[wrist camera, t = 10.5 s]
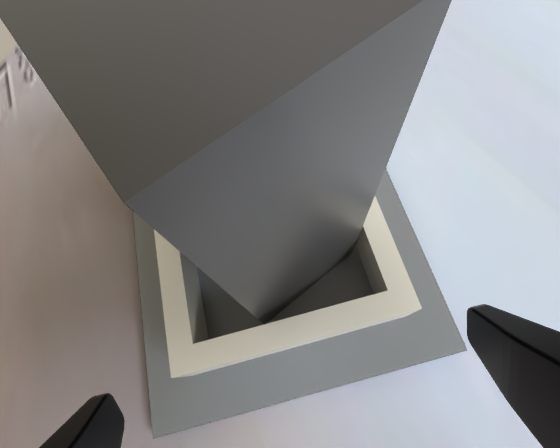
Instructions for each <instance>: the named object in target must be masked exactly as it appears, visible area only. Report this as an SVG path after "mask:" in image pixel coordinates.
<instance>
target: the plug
mask: <svg viewBox="0 0 560 448" xmlns="http://www.w3.org/2000/svg"><path fill="white" fill-rule="evenodd" d="M450 3H451V0H0V18H1V20H2V21H3V23H4V24H5V26H6V27H7V28H8V30H9V32H10V33H11V34H12V36H13V38H14V39H15V41H16V42H17V44H18V45H19V47H20V48H21V50H22V51H23V53H24V54H25V56H26V57H27V59H28V60H29V62H30V63H31V65H32V66H33V68H34V69H35V71H36V72H37V74H38V75H39V77H40V78H41V80H42V81H43V83H44V84H45V86H46V87H47V89H48V90H49V92H50V93H51V95H52V96H53V98H54V99H55V101H56V102H57V104H58V105H59V107H60V108H61V110H62V111H63V113H64V114H65V116H66V117H67V119H68V120H69V122H70V123H71V125H72V126H73V128H74V129H75V131H76V132H77V134H78V135H79V137H80V138H81V140H82V141H83V143H84V144H85V146H86V147H87V149H88V150H89V152H90V153H91V155H92V156H93V158H94V159H95V161H96V162H97V164H98V165H99V167H100V168H101V170H102V171H103V173H104V174H105V176H106V177H107V179H108V180H109V182H110V183H111V185H112V186H113V188H114V189H115V191H116V192H117V194H118V195H119V197H120V198H121V200H122V201H123V203H125V204H126V205H127V206H128V207H129V208H130V209H132V210H133V211H134V212H135V213H136V214H137V215H138V216H140V217H141V218H142V219H143V220H144V221H145V222H146V223H148V224H149V225H150V226H151V227H152V228H153V229H155V230H156V231H157V232H158V233H159V234H160V235H161V236H163V237H164V238H165V239H166V240H167V241H168V242H169V243H171V244H172V245H173V246H174V247H175V248H176V249H178V250H179V251H180V252H181V253H182V254H183V255H184V256H186V257H187V258H188V259H189V260H190V261H191V262H192V263H194V264H195V265H196V266H197V267H198V268H199V269H201V270H202V271H203V272H204V273H205V274H206V275H207V276H209V277H210V278H211V279H212V280H213V281H214V282H215V283H217V284H218V285H219V286H220V287H221V288H222V289H224V290H225V291H226V292H227V293H228V294H229V295H230V296H232V297H233V298H234V299H235V300H236V301H237V302H238V303H240V304H241V305H242V306H243V307H244V308H245V309H247V310H248V311H249V312H250V313H251V314H252V315H253V316H255V317H256V318H257V319H258V320H259V321H260V322H261V323H263V324H266V323H267V322H269V321H270V320H271V319H272V318H273V317H275V316H276V315H277V314H278V313H280V312H281V311H282V310H283V309H284V308H286V307H287V306H288V305H289V304H291V303H292V302H293V301H294V300H295V299H297V298H298V297H299V296H300V295H302V294H303V293H304V292H305V291H306V290H308V289H309V288H310V287H311V286H313V285H314V284H315V283H316V282H317V281H319V280H320V279H321V278H322V277H323V276H325V275H326V274H327V273H328V272H330V271H331V270H332V269H333V268H334V267H336V266H337V265H338V264H339V263H341V262H342V261H343V260H344V259H345V258H347V257H348V256H349V255H350V254H352V252H353V250H354V247H355V245H356V242H357V240H358V237H359V234H360V232H361V229H362V227H363V224H364V222H365V219H366V217H367V214H368V212H369V209H370V206H371V204H372V201H373V199H374V196H375V194H376V191H377V189H378V186H379V184H380V181H381V178H382V176H383V173H384V171H385V168H386V166H387V163H388V161H389V158H390V156H391V153H392V150H393V148H394V145H395V143H396V140H397V138H398V135H399V133H400V130H401V128H402V125H403V122H404V120H405V117H406V115H407V112H408V110H409V107H410V105H411V102H412V100H413V97H414V94H415V92H416V89H417V87H418V84H419V82H420V79H421V77H422V74H423V72H424V69H425V66H426V64H427V61H428V59H429V56H430V54H431V51H432V49H433V46H434V44H435V41H436V38H437V36H438V33H439V31H440V28H441V26H442V23H443V21H444V18H445V16H446V13H447V10H448V8H449V5H450Z"/></svg>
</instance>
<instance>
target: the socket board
mask: <svg viewBox="0 0 560 448" xmlns="http://www.w3.org/2000/svg"><path fill="white" fill-rule="evenodd" d="M133 221H134V233H135V244H136V255H137V266H138V277H139V288H140V300H141V311H142V322H143V333H144V344H145V355H146V366H147V378H148V389H149V400H150V411H151V422H152V433H153V439H154V438H157V437H161V436H164V435H168V434H171V433H175V432H179V431H182V430H186V429H189V428H193V427H196V426H200V425H203V424H207V423H211V422H214V421H218V420H221V419H225V418H228V417H232V416H236V415H239V414H243V413H246V412H250V411H253V410H257V409H260V408H264V407H268V406H271V405H275V404H278V403H282V402H285V401H289V400H292V399H296V398H300V397H303V396H307V395H310V394H314V393H317V392H321V391H324V390H328V389H332V388H335V387H339V386H342V385H346V384H349V383H353V382H356V381H360V380H364V379H367V378H371V377H374V376H378V375H381V374H385V373H389V372H392V371H396V370H399V369H403V368H406V367H410V366H413V365H417V364H421V363H424V362H428V361H431V360H435V359H438V358H442V357H445V356H449V355H453V354H456V353H460V352H463V351H467V349H466V346H465V344H464V342H463V340H462V337H461V335H460V333H459V331H458V328H457V326H456V324H455V322H454V319H453V317H452V315H451V313H450V311H449V308H448V306H447V304H446V302H445V299H444V297H443V295H442V293H441V290H440V288H439V286H438V284H437V282H436V279H435V277H434V275H433V273H432V270H431V268H430V266H429V264H428V261H427V259H426V257H425V255H424V252H423V250H422V248H421V246H420V244H419V241H418V239H417V237H416V235H415V232H414V230H413V228H412V226H411V223H410V221H409V219H408V217H407V214H406V212H405V210H404V208H403V206H402V203H401V201H400V199H399V197H398V194H397V192H396V190H395V188H394V185H393V183H392V181H391V179H390V177H389V174H388V172H387V170H386V168H385V171H384V173H383V176H382V178H381V181H380V184H379V186H378V189H377V191H376V194H375V196H374V199H373V201H372V204H371V206H370V209H369V212H368V214H367V217H366V219H365V222H364V224H363V227H362V229H361V232H360V234H359V237H358V240H357V242H356V245H355V247H354V250H353V252H352V254H350V255H349V256H348V257H347V258H345V259H344V260H343V261H342V262H341V263H339V264H338V265H337V266H336V267H334V268H333V269H332V270H331V271H330V272H328V273H327V274H326V275H325V276H323V277H322V278H321V279H320V280H319V281H317V282H316V283H315V284H314V285H313V286H311V287H310V288H309V289H308V290H306V291H305V292H304V293H303V294H302V295H300V296H299V297H298V298H297V299H295V300H294V301H293V302H292V303H291V304H289V305H288V306H287V307H286V308H284V309H283V310H282V311H281V312H280V313H278V314H277V315H276V316H275V317H273V318H272V319H271V320H270V321H269V322H267V323H266V324H263V323H261V322H260V321H259V320H258V319H257V318H256V317H255V316H253V315H252V314H251V313H250V312H249V311H248V310H247V309H245V308H244V307H243V306H242V305H241V304H240V303H238V302H237V301H236V300H235V299H234V298H233V297H232V296H230V295H229V294H228V293H227V292H226V291H225V290H224V289H222V288H221V287H220V286H219V285H218V284H217V283H215V282H214V281H213V280H212V279H211V278H210V277H209V276H207V275H206V274H205V273H204V272H203V271H202V270H201V269H199V268H198V267H197V266H196V265H195V264H194V263H192V262H191V261H190V260H189V259H188V258H187V257H186V256H184V255H183V254H182V253H181V252H180V251H179V250H178V249H176V248H175V247H174V246H173V245H172V244H171V243H169V242H168V241H167V240H166V239H165V238H164V237H163V236H161V235H160V234H159V233H158V232H157V231H156V230H155V229H153V228H152V227H151V226H150V225H149V224H148V223H146V222H145V221H144V220H143V219H142V218H141V217H140V216H138V215H137V214H136V213H135V212H134V211H133Z"/></svg>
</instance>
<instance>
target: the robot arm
mask: <svg viewBox="0 0 560 448" xmlns="http://www.w3.org/2000/svg"><path fill="white" fill-rule="evenodd" d="M467 336H468V340H469V342H470V344H471V345H472V347H473V349H474V350H475V352H476V353H477V355H478V356H479V358H480V360H481V361H482V363H483V364H484V366H485V367H486V369H487V371H488V372H489V374H490V375H491V377H492V378H493V380H494V381H495V383H496V385H497V386H498V388H499V389H500V391H501V392H502V394H503V395H504V397H505V398H506V400H507V401H508V403H509V404H510V405H511V407H512V408H513V409H514V411H515V412H516V413H517V415H518V416H519V417H520V418H521V420H522V421H523V422H524V424H525V425H526V426H527V427H528V429H529V430H530V431H531V432H532V434H533V435H534V436H535V438H536V439H537V440H538V441H539V443H540V444H541V445H542V447H543V448H560V332H559V331H556V330H553V329H551V328H548V327H545V326H543V325H540V324H537V323H535V322H532V321H529V320H527V319H524V318H521V317H519V316H516V315H513V314H511V313H508V312H505V311H503V310H500V309H497V308H495V307H492V306H489V305H486V304H482V305H478V306H474V307H470V308H469V309H468V310H467ZM123 431H124V417H123V414H122V412H121V410H120V409H119V407H118V405H117V403H116V401H115V399H114V397H113V396H112V395H111V394H109V393H106V394H101V395H97V396H94V397H92V398H90V399H89V400H88V401H87V402H86V403H85V404H84V405H83V406H82V407H81V408H80V409H79V410H78V411H77V412H76V413H75V414H74V415H73V416H71V417H70V418H69V419H68V420H67V421H66V422H65V423H64V424H63V425H62V426H61V427H60V428H59V429H58V430H57V431H56V432H55V433H54V434H53V435H52V436H51V437H50V438H49V439H48V440H47V441H46V442H45V443H44V444H43V445H41V446H40V447H39V448H121V443H122V437H123Z"/></svg>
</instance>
